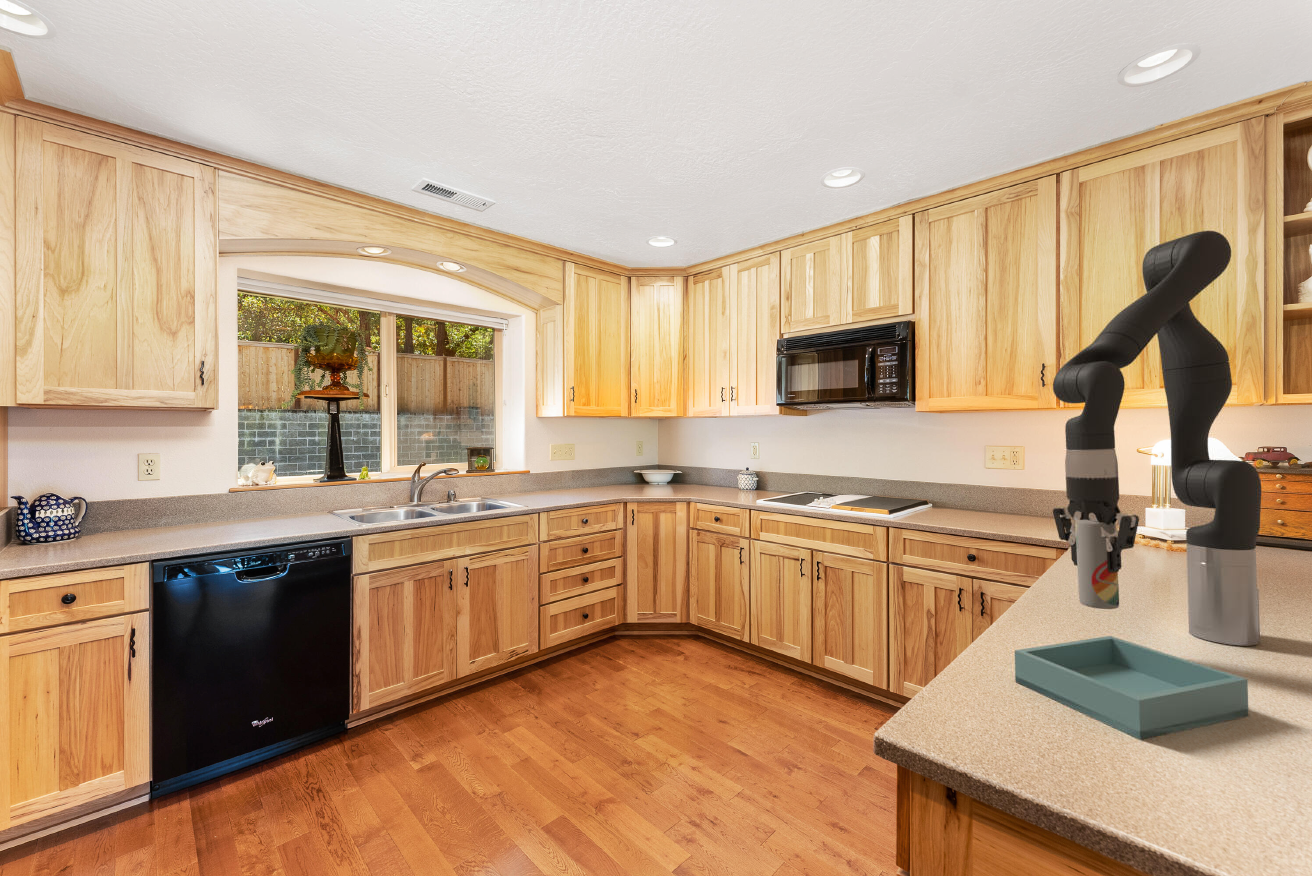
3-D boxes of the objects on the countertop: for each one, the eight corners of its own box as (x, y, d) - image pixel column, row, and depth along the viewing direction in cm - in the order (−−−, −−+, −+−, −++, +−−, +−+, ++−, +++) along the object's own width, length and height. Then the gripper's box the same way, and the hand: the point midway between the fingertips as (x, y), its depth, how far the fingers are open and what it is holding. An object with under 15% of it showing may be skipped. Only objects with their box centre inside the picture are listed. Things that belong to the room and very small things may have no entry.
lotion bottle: (1127, 609, 98) (1121, 494, 98) (1089, 609, 99) (1084, 495, 99) (1107, 600, 103) (1102, 491, 103) (1072, 600, 104) (1067, 492, 104)
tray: (1110, 665, 94) (1109, 635, 94) (1248, 715, 77) (1247, 678, 77) (1015, 681, 89) (1014, 650, 89) (1140, 739, 71) (1139, 700, 72)
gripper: (1150, 475, 95) (1155, 575, 95) (1068, 471, 109) (1072, 558, 109) (1117, 477, 93) (1122, 580, 93) (1038, 473, 107) (1042, 562, 107)
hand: (1095, 568), depth 101 cm, fingers closed on lotion bottle, 5 cm apart
